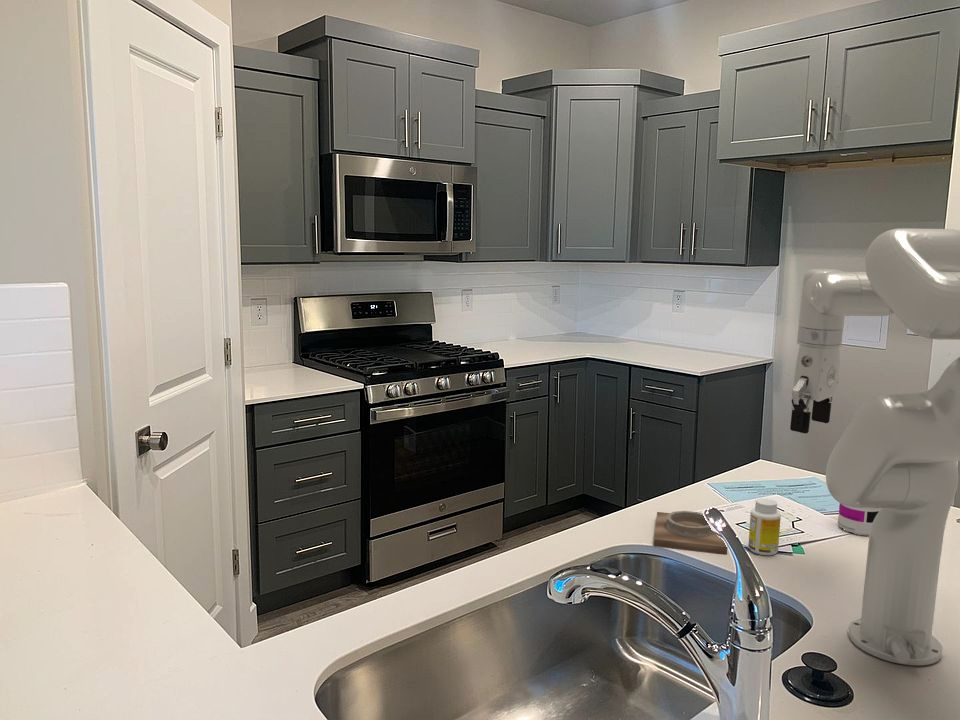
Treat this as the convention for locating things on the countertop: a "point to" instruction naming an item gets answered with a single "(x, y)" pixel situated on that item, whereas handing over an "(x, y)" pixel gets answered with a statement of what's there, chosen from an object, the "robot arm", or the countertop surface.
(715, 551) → the collar board
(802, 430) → the robot arm
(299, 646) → the countertop surface
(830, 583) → the countertop surface
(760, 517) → the supplement bottle
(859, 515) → the supplement can
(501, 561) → the countertop surface
